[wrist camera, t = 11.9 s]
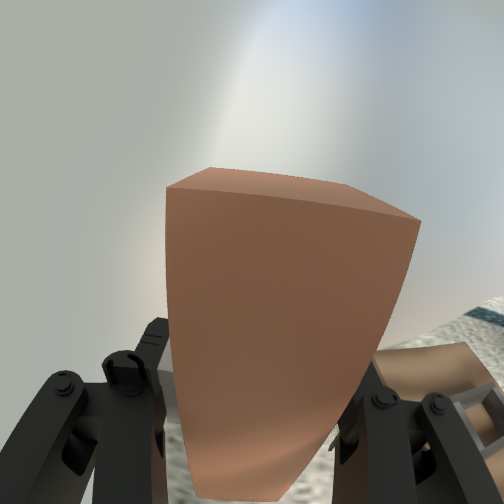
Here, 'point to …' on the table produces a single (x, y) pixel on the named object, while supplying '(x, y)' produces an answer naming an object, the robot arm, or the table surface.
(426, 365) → the wooden socket base
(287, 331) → the wooden peg
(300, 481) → the table surface
